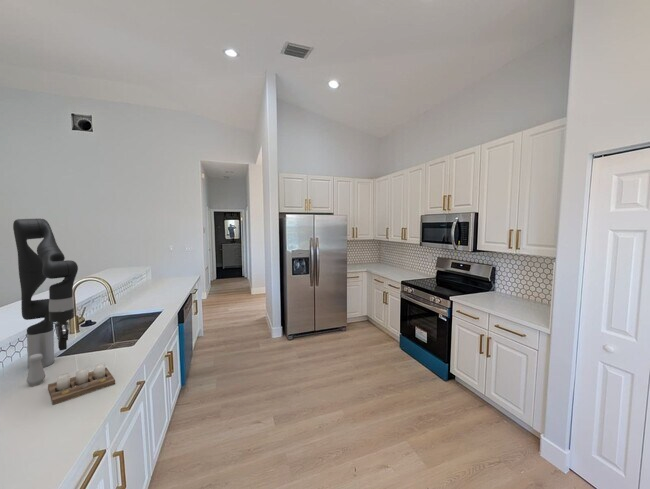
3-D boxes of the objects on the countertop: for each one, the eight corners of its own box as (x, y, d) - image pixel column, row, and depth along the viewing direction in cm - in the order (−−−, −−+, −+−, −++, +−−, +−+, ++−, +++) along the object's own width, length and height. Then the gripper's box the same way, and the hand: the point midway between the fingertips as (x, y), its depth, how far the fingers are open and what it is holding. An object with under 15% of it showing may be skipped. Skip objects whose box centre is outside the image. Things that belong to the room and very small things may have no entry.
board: (48, 388, 117) (48, 383, 117) (106, 371, 133) (106, 366, 133) (52, 405, 107) (52, 399, 107) (115, 383, 122) (115, 378, 122)
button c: (93, 376, 124) (92, 365, 124) (104, 373, 127) (103, 362, 127) (94, 379, 122) (94, 368, 121) (106, 376, 125) (106, 365, 124)
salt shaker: (33, 388, 118) (32, 358, 117) (23, 386, 119) (22, 357, 118) (49, 380, 123) (48, 352, 123) (39, 379, 125) (38, 351, 124)
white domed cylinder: (56, 387, 115) (56, 376, 115) (69, 383, 118) (68, 372, 118) (57, 391, 112) (57, 379, 112) (70, 387, 115) (70, 376, 115)
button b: (75, 381, 120) (75, 370, 119) (87, 378, 123) (87, 367, 122) (77, 385, 117) (76, 374, 117) (89, 381, 120) (88, 370, 120)
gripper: (47, 306, 115) (48, 346, 116) (50, 314, 106) (51, 357, 107) (71, 303, 121) (71, 341, 122) (76, 310, 112) (77, 351, 113)
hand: (62, 348), depth 114 cm, fingers closed
